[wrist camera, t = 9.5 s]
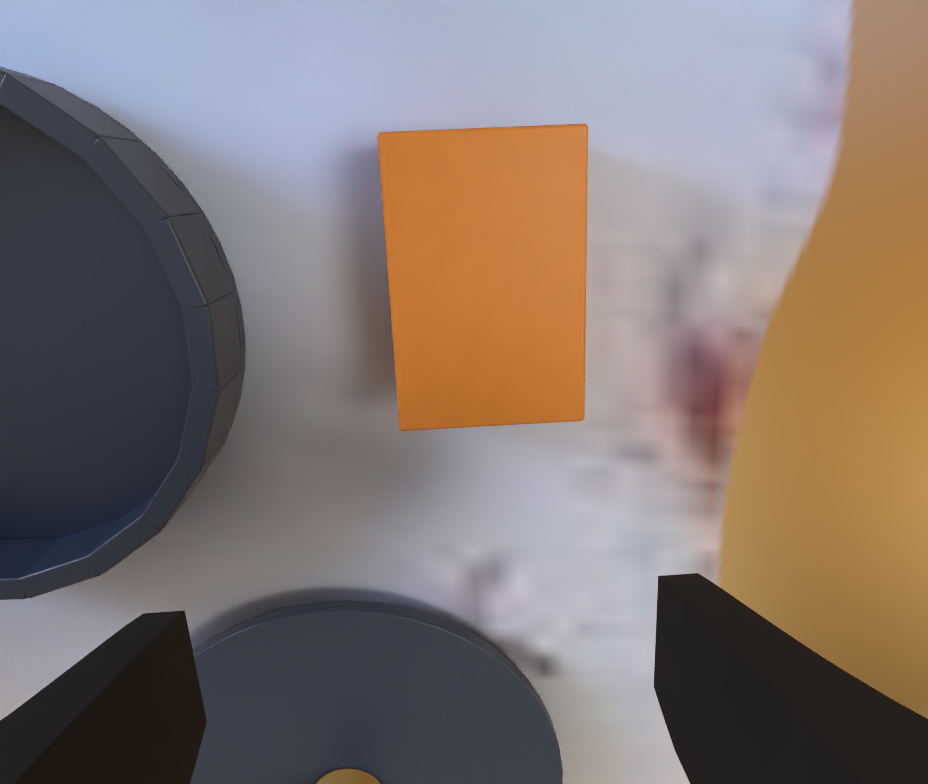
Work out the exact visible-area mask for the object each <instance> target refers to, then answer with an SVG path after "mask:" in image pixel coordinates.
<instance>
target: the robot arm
mask: <svg viewBox="0 0 928 784" xmlns="http://www.w3.org/2000/svg"><path fill="white" fill-rule="evenodd" d="M654 688H655V691H656V695H657V698H658V701H659V704H660V707H661V710H662V713H663V716H664V719H665V723H666V725H667V728H668V731H669V734H670V737H671V740H672V743H673V746H674V748H675V751H676V753H677V756H678V758H679V760H680V762H681V764H682V767H683V769H684V771H685V773H686V775H687V777H688V780H689V782H690V784H928V719H927V718H925V717H923V716H921V715H919V714H917V713H915V712H914V711H912V710H910V709H908V708H906V707H905V706H902V705H901V704H899V703H898V702H896V701H894V700H892V699H890V698H889V697H887V696H885V695H884V694H882V693H880V692H879V691H877V690H875V689H874V688H872V687H870V686H869V685H867V684H865V683H864V682H862V681H860V680H859V679H857V678H855V677H854V676H852V675H850V674H849V673H847V672H845V671H844V670H842V669H840V668H839V667H837V666H836V665H834V664H833V663H831V662H829V661H828V660H826V659H825V658H823V657H821V656H820V655H818V654H817V653H815V652H814V651H812V650H811V649H809V648H807V647H806V646H805V645H803V644H802V643H800V642H798V641H797V640H795V639H794V638H793V637H791V636H790V635H788V634H787V633H785V632H784V631H782V630H781V629H779V628H778V627H776V626H775V625H773V624H772V623H770V622H769V621H767V620H766V619H765V618H763V617H762V616H760V615H759V614H757V613H756V612H754V611H753V610H752V609H750V608H749V607H747V606H746V605H744V604H743V603H741V602H740V601H739V600H737V599H736V598H734V597H733V596H731V595H730V594H729V593H727V592H726V591H724V590H723V589H721V588H720V587H718V586H717V585H715V584H714V583H712V582H711V581H709V580H708V579H706V578H705V577H703V576H701V575H700V574H698V573H695V574H681V575H668V576H658V599H657V623H656V647H655V671H654ZM206 723H207V719H206V714H205V709H204V704H203V699H202V694H201V689H200V684H199V679H198V674H197V670H196V665H195V660H194V655H193V650H192V645H191V640H190V635H189V630H188V625H187V620H186V615H185V611H173V612H159V613H145V614H142V615H141V616H139V617H138V618H136V619H135V620H133V621H132V622H130V623H129V624H128V625H126V626H125V627H123V628H122V629H121V630H119V631H118V632H117V633H115V634H114V635H113V636H111V637H110V638H109V639H107V640H106V641H105V642H103V643H102V644H101V645H100V646H98V647H97V648H96V649H94V650H93V651H92V652H90V653H89V654H88V655H87V656H85V657H84V658H83V659H81V660H80V661H79V662H78V663H76V664H75V665H74V666H72V667H71V668H70V669H68V670H67V671H66V672H65V673H63V674H62V675H61V676H59V677H58V678H57V679H55V680H54V681H53V682H51V683H50V684H49V685H48V686H46V687H45V688H44V689H42V690H41V691H40V692H38V693H37V694H36V695H34V696H33V697H32V698H30V699H29V700H28V701H27V702H25V703H24V704H23V705H21V706H20V707H19V708H17V709H16V710H15V711H13V712H12V713H10V714H9V715H8V716H6V717H5V718H3V719H2V720H1V721H0V784H190V782H191V778H192V775H193V771H194V768H195V765H196V761H197V758H198V754H199V750H200V746H201V742H202V739H203V735H204V731H205V727H206Z"/></svg>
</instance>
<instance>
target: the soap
mask: <svg viewBox="0 0 928 784" xmlns="http://www.w3.org/2000/svg"><path fill="white" fill-rule="evenodd" d="M377 139H378V152H379V165H380V178H381V191H382V205H383V218H384V231H385V244H386V257H387V271H388V284H389V297H390V310H391V323H392V336H393V350H394V363H395V376H396V389H397V402H398V416H399V428H400V430H402V431H406V430H423V429H441V428H459V427H477V426H495V425H513V424H531V423H549V422H567V421H582V420H584V404H585V322H586V240H587V158H588V126H587V125H586V124H567V125H543V126H519V127H496V128H472V129H448V130H424V131H400V132H380V133H378V136H377Z"/></svg>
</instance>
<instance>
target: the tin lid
mask: <svg viewBox="0 0 928 784" xmlns="http://www.w3.org/2000/svg"><path fill="white" fill-rule="evenodd" d="M193 655H194V660H195V665H196V670H197V674H198V679H199V684H200V689H201V694H202V699H203V704H204V709H205V714H206V719H207V723H206V727H205V731H204V735H203V739H202V742H201V746H200V750H199V754H198V758H197V761H196V765H195V768H194V771H193V775H192V778H191V782H190V784H562V776H563V770H562V763H561V756H560V749H559V744H558V740H557V737H556V733H555V730H554V727H553V724H552V721H551V718H550V716H549V714H548V712H547V710H546V708H545V706H544V704H543V702H542V700H541V698H540V696H539V695H538V693H537V692H536V690H535V689H534V688H533V686H532V685H531V683H530V682H529V681H528V679H527V678H526V677H525V676H524V675H523V673H522V672H521V671H520V670H519V669H518V668H517V667H516V666H515V665H514V664H513V663H512V662H511V661H510V660H509V659H508V658H507V657H506V656H504V655H503V654H502V653H501V652H499V651H498V650H497V649H496V648H494V647H493V646H492V645H490V644H489V643H488V642H486V641H485V640H483V639H481V638H480V637H478V636H476V635H475V634H473V633H471V632H470V631H468V630H466V629H465V628H463V627H460V626H458V625H456V624H454V623H451V622H449V621H447V620H444V619H442V618H440V617H438V616H434V615H431V614H428V613H424V612H421V611H418V610H415V609H411V608H407V607H401V606H396V605H390V604H385V603H379V602H364V601H327V602H315V603H309V604H302V605H296V606H290V607H286V608H282V609H279V610H275V611H272V612H268V613H264V614H261V615H258V616H256V617H253V618H251V619H249V620H246V621H244V622H241V623H239V624H236V625H234V626H232V627H230V628H229V629H227V630H225V631H223V632H222V633H220V634H218V635H216V636H215V637H213V638H211V639H209V640H208V641H206V642H205V643H204V644H202V645H201V646H200V647H198V648H197V649H196V650H195V651H193Z"/></svg>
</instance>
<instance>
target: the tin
mask: <svg viewBox="0 0 928 784" xmlns="http://www.w3.org/2000/svg"><path fill="white" fill-rule="evenodd" d="M244 371H245V334H244V325H243V317H242V309H241V304H240V300H239V296H238V293H237V289H236V285H235V281H234V277H233V274H232V272H231V269H230V266H229V264H228V261H227V259H226V256H225V254H224V251H223V249H222V246H221V244H220V242H219V240H218V238H217V236H216V235H215V233H214V231H213V229H212V227H211V225H210V224H209V222H208V220H207V218H206V216H205V214H204V213H203V211H202V210H201V208H200V207H199V206H198V204H197V203H196V201H195V200H194V199H193V197H192V196H191V194H190V193H189V191H188V190H187V189H186V187H185V186H184V184H183V183H182V182H181V181H180V180H179V179H178V177H177V176H176V175H175V174H174V173H173V172H172V171H171V170H170V169H169V167H168V166H167V165H166V164H165V163H164V162H163V161H162V160H161V158H160V157H159V156H158V155H157V154H156V153H155V152H153V151H152V150H151V149H150V148H149V147H148V146H147V145H146V144H144V143H143V142H142V141H141V140H140V139H139V138H138V137H136V136H135V135H134V134H133V133H132V132H131V131H130V130H129V129H127V128H126V127H124V126H123V125H121V124H120V123H119V122H117V121H116V120H114V119H113V118H111V117H110V116H109V115H107V114H106V113H104V112H103V111H101V110H100V109H99V108H97V107H95V106H94V105H92V104H90V103H88V102H86V101H84V100H82V99H81V98H79V97H77V96H75V95H73V94H71V93H69V92H68V91H66V90H64V89H63V88H61V87H58V86H56V85H55V84H52V83H49V82H46V81H43V80H40V79H37V78H34V77H31V76H29V75H26V74H23V73H19V72H16V71H12V70H9V69H6V68H3V67H0V600H7V599H26V598H28V597H29V598H32V597H35V596H38V595H41V594H44V593H47V592H50V591H53V590H56V589H60V588H63V587H66V586H69V585H72V584H75V583H78V582H81V581H84V580H87V579H90V578H93V577H96V576H99V575H101V574H103V573H105V572H107V571H108V570H110V569H111V568H112V567H114V566H115V565H116V564H118V563H119V562H120V561H122V560H123V559H124V558H126V557H127V556H128V555H130V554H131V553H132V552H134V551H135V550H137V549H138V548H139V547H141V546H142V545H143V544H145V543H146V542H147V541H149V540H150V539H151V538H153V537H154V536H155V535H157V534H158V533H159V532H161V530H162V529H163V528H164V527H165V526H166V525H167V523H168V522H169V521H170V520H171V518H172V517H173V516H174V514H175V513H176V512H177V511H178V509H179V508H180V507H181V505H182V504H183V503H184V502H185V500H186V499H187V498H188V496H189V495H190V494H191V492H192V491H193V489H194V488H195V486H196V485H197V483H198V482H199V480H200V479H201V477H202V476H203V474H204V473H205V471H206V470H207V468H208V467H209V466H210V464H211V463H212V461H213V460H214V458H215V457H216V455H217V454H218V452H219V451H220V449H221V447H222V445H223V444H224V442H225V439H226V438H227V436H228V432H229V430H230V428H231V426H232V423H233V420H234V417H235V413H236V410H237V407H238V404H239V400H240V396H241V390H242V383H243V377H244Z"/></svg>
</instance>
